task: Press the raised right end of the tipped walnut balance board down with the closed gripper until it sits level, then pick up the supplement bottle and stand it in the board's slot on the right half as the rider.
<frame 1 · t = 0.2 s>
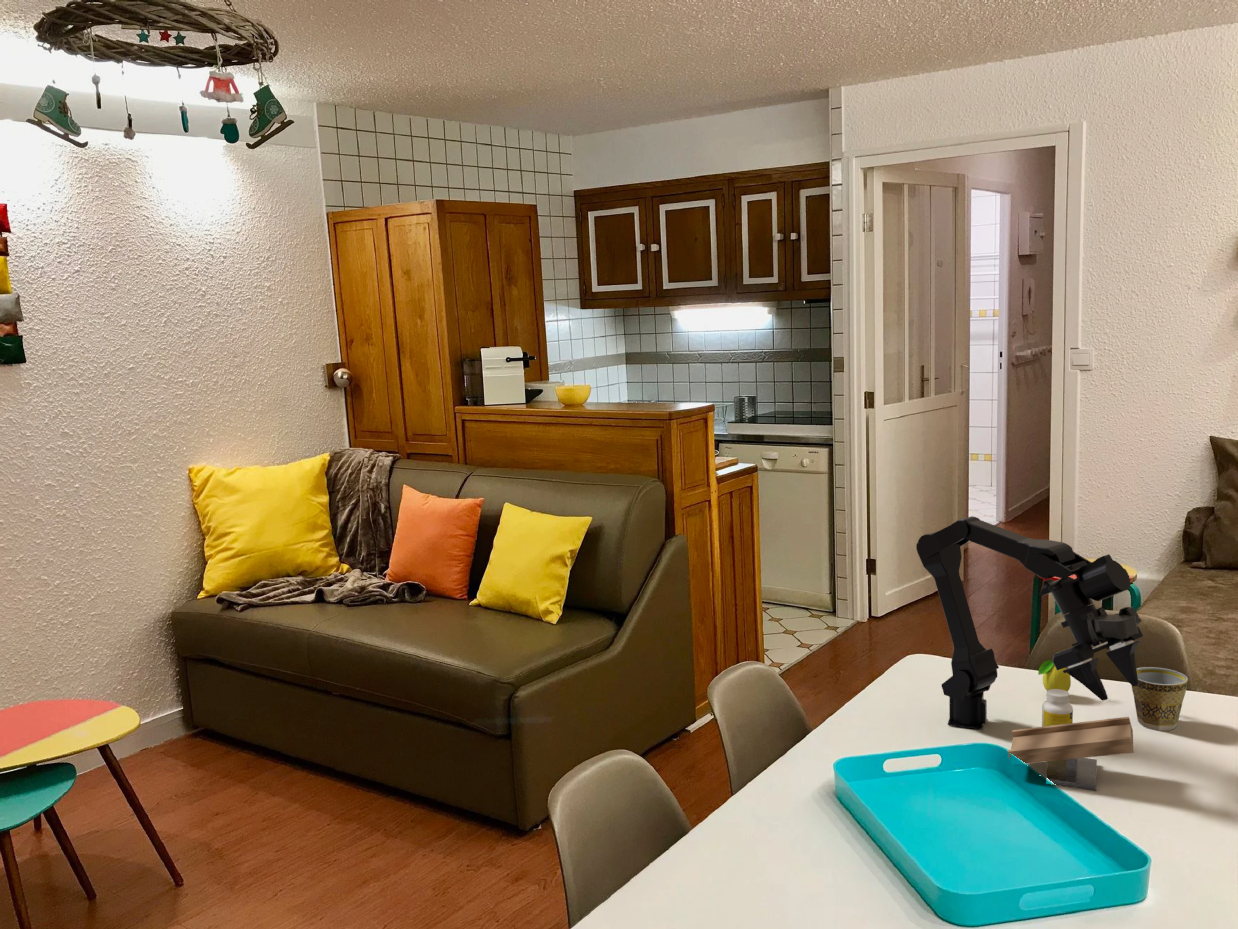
hand: (1120, 692, 180), 15 cm above the table, tool tilted 30°, fingers open, 9 cm apart
lemon: (1056, 697, 218), on the table
ceramic cup: (1153, 722, 203), on the table
board stand: (1071, 774, 182), on the table
supplement bottle: (1056, 742, 196), on the table
balance board: (1070, 740, 182), point 6 cm above the table, hinge at 15.0°
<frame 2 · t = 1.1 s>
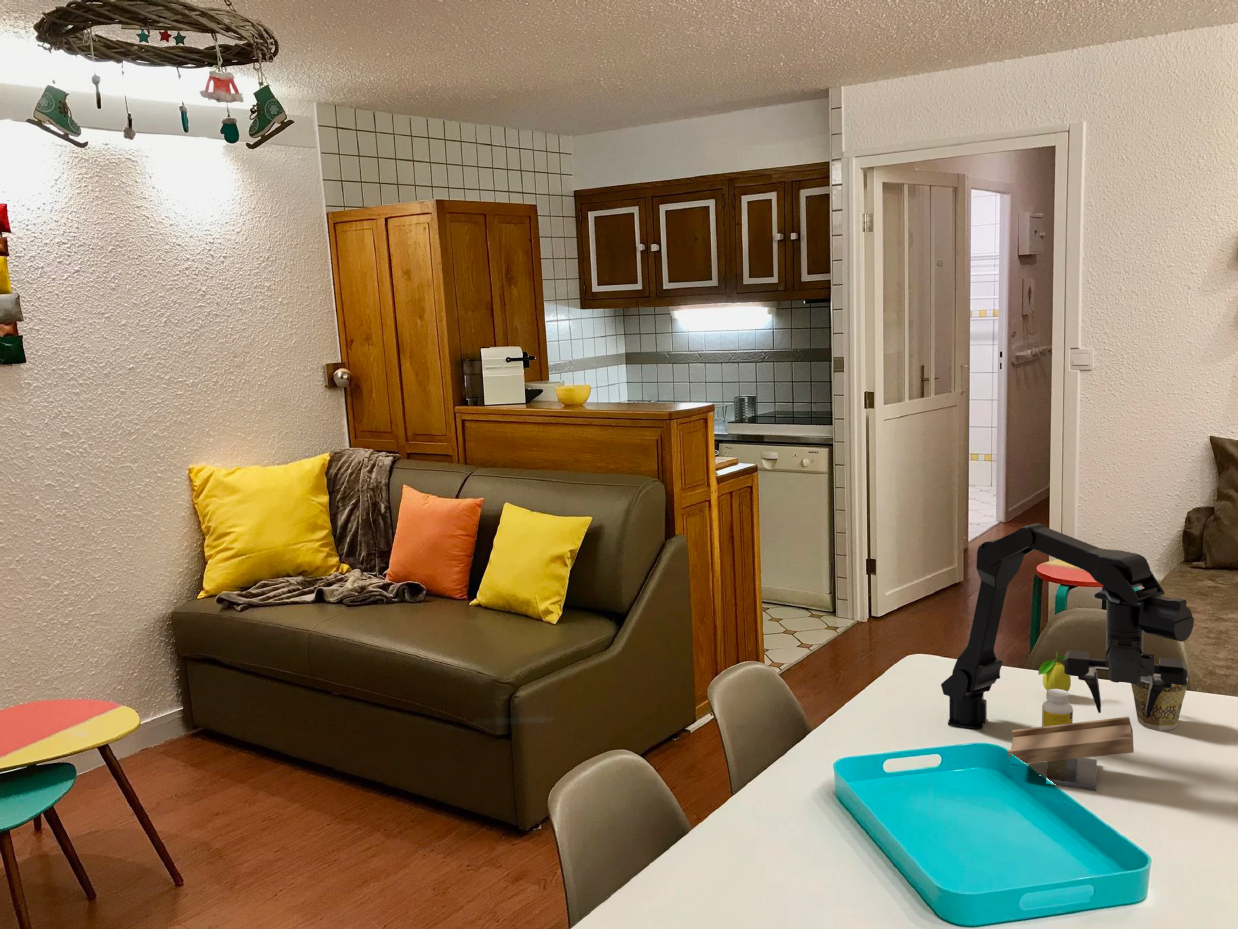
hand: (1123, 714, 177), 12 cm above the table, tool pointing down, fingers open, 7 cm apart
nothing on the table moved.
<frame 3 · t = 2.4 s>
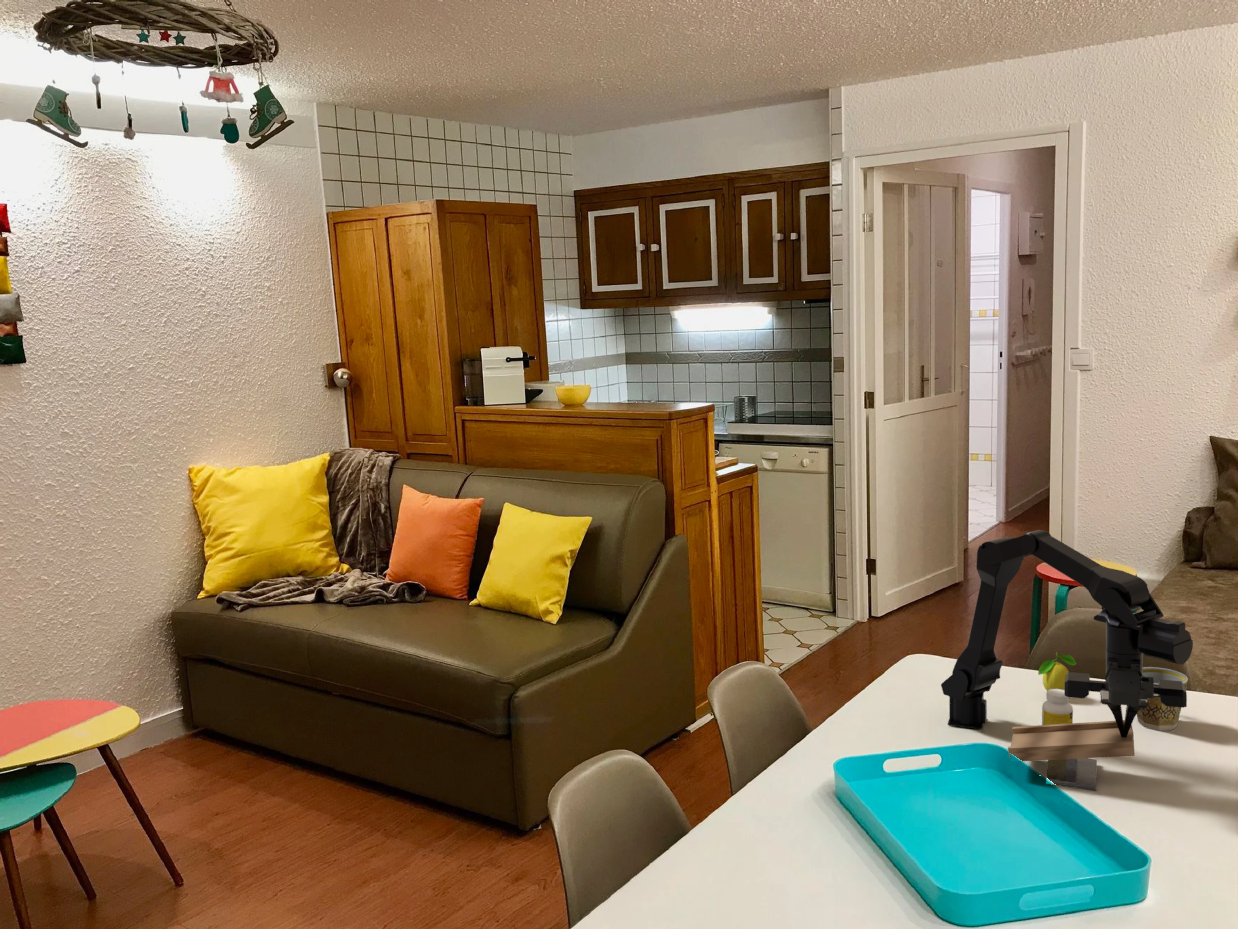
hand: (1123, 736, 178), 8 cm above the table, tool pointing down, fingers closed, pressing on balance board
balance board: (1070, 740, 182), point 6 cm above the table, hinge at 11.5°, touching gripper
everything else where it was.
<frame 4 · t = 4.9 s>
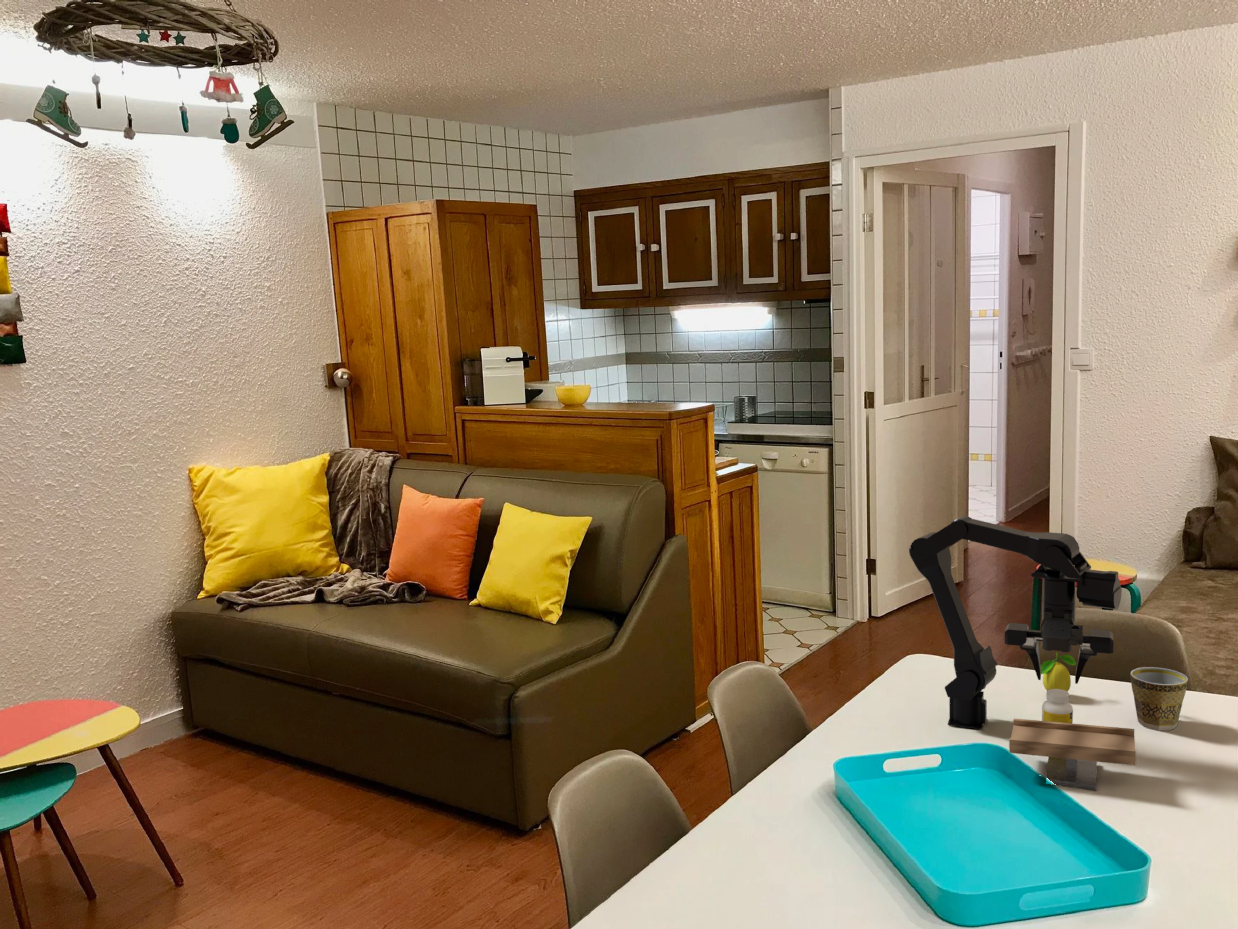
hand: (1057, 681, 194), 12 cm above the table, tool pointing down, fingers open, 6 cm apart
balance board: (1071, 740, 182), point 6 cm above the table, hinge at 1.9°
everything else where it was.
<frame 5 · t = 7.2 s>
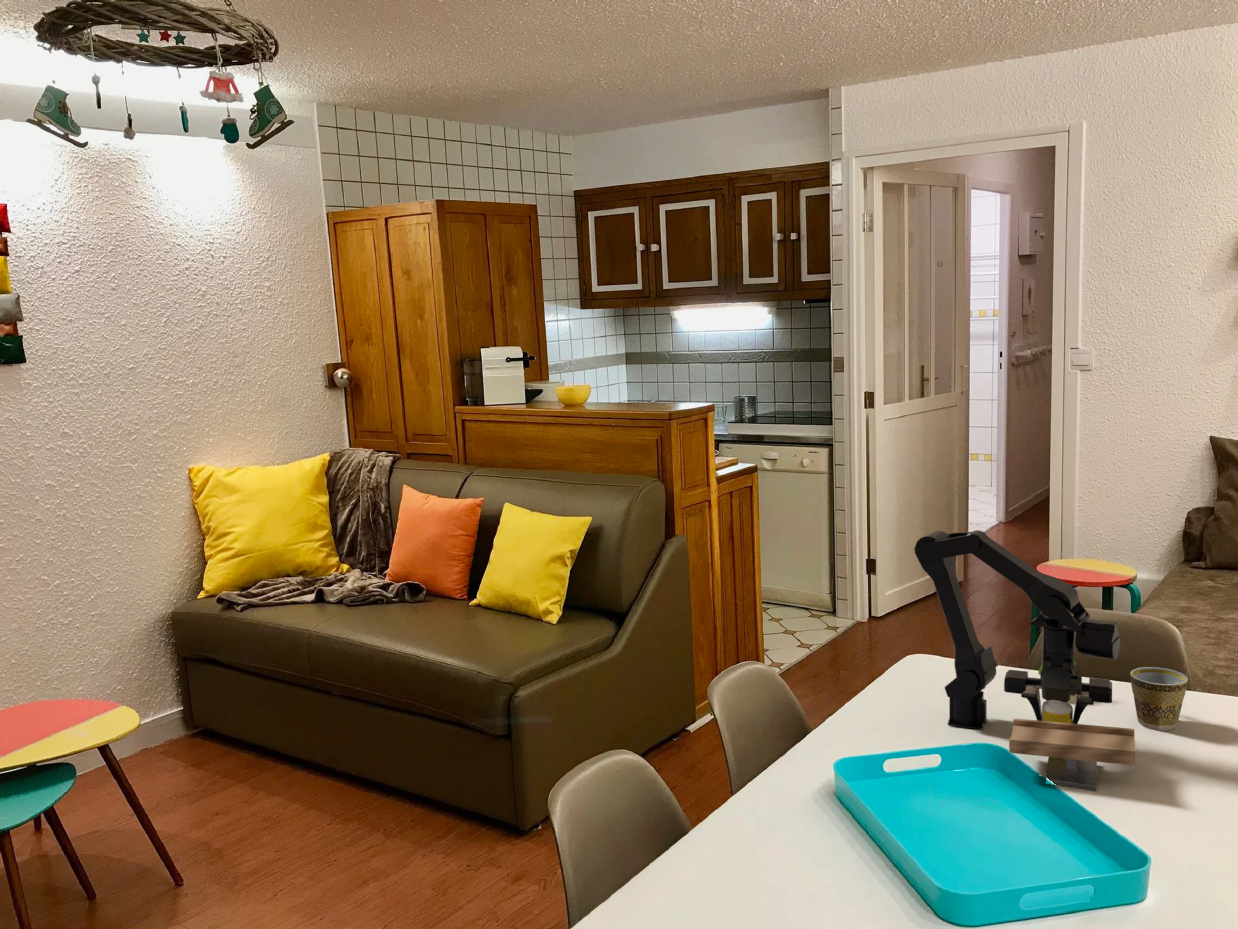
hand: (1056, 728, 196), 3 cm above the table, tool pointing down, fingers closed on supplement bottle, 5 cm apart
supplement bottle: (1056, 742, 196), on the table, touching gripper
everything else where it was.
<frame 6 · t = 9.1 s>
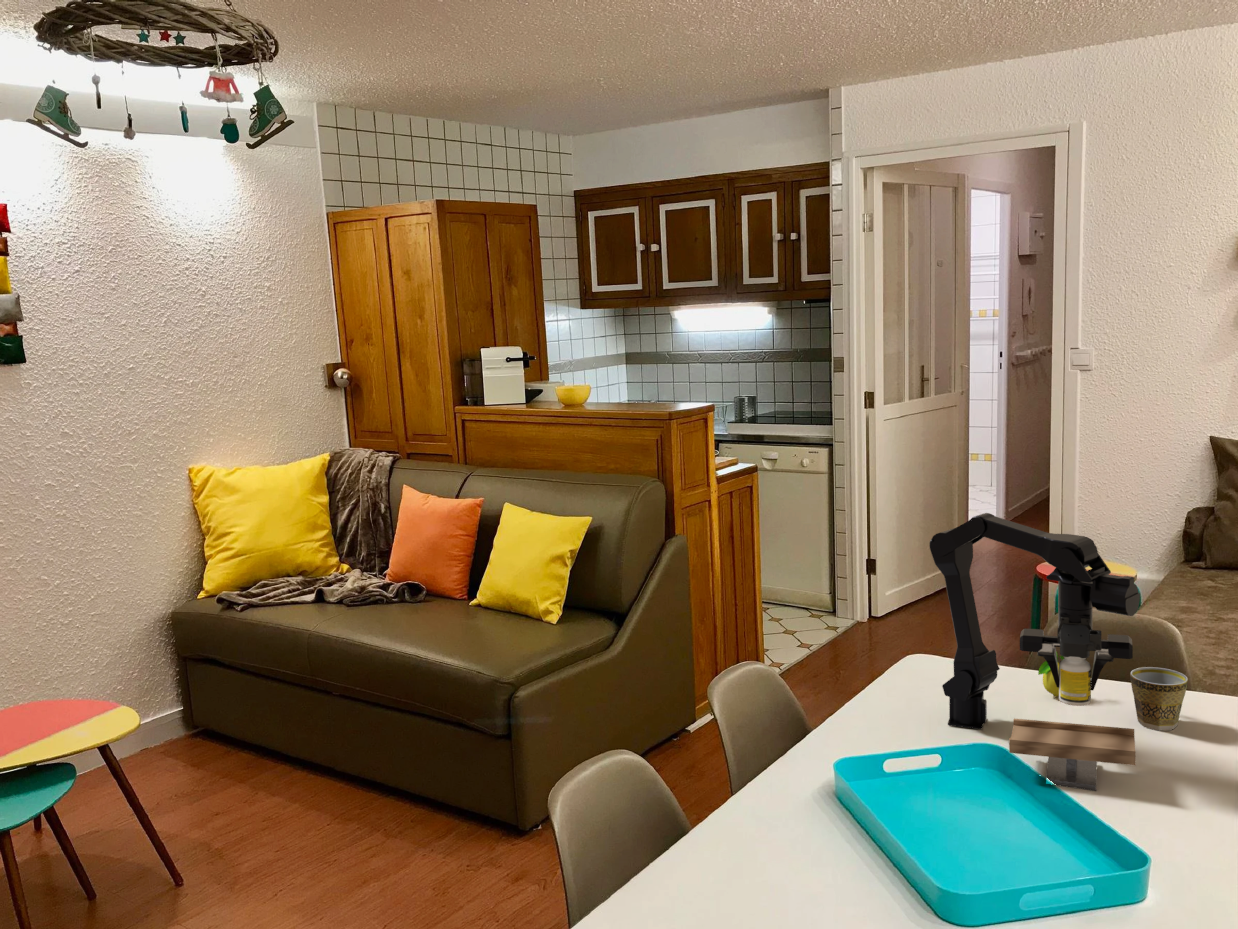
hand: (1074, 688, 189), 13 cm above the table, tool pointing down, fingers closed on supplement bottle, 5 cm apart
supplement bottle: (1074, 702, 189), point 10 cm above the table, touching gripper
everything else where it was.
when the fingers open (10 cm above the table, at t = 11.1 s): supplement bottle drops 1 cm, resting on balance board.
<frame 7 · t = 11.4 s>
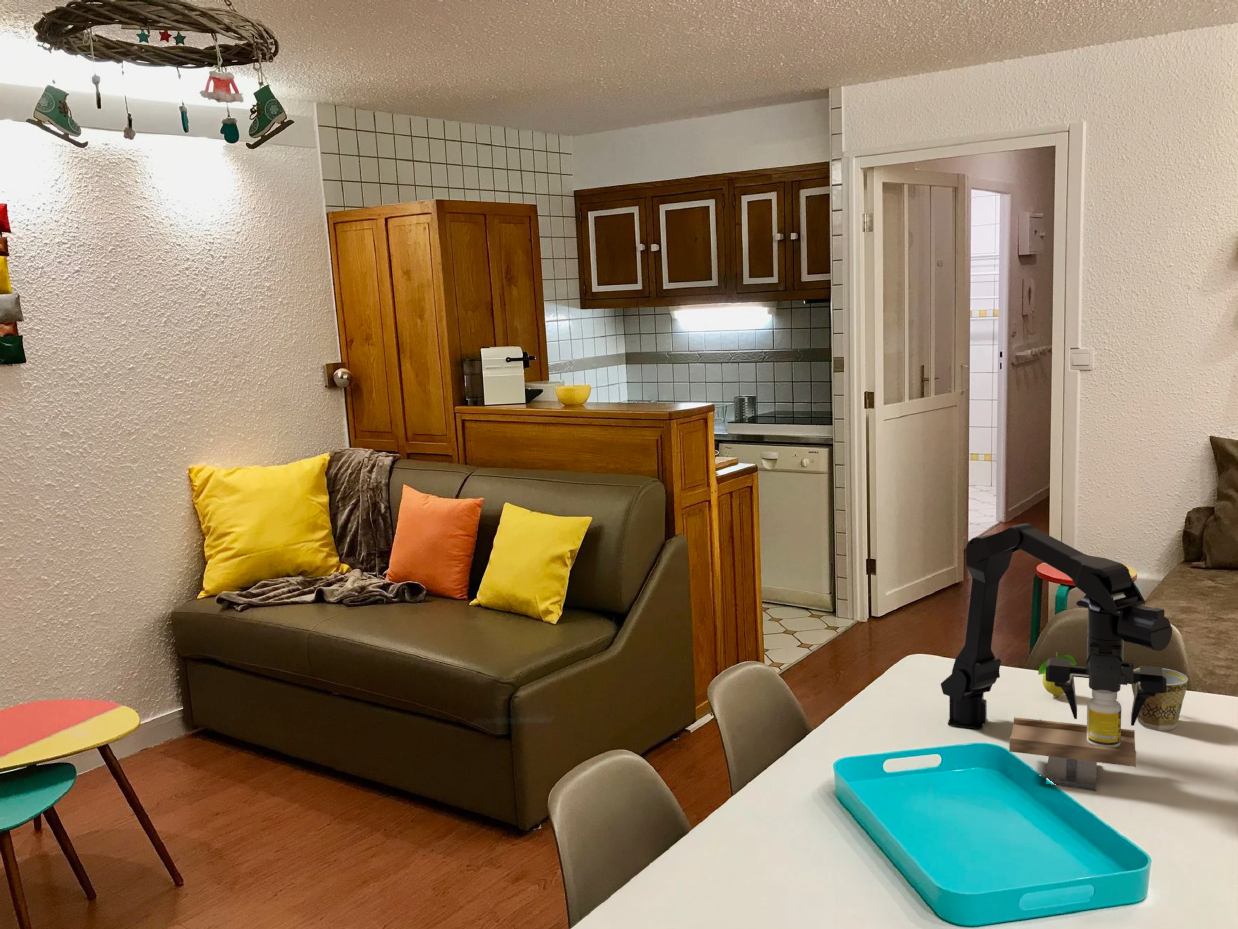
hand: (1103, 721, 179), 10 cm above the table, tool pointing down, fingers open, 9 cm apart
supplement bottle: (1103, 744, 179), point 6 cm above the table, touching balance board
balance board: (1072, 740, 182), point 6 cm above the table, hinge at 0.6°, touching supplement bottle
everything else where it was.
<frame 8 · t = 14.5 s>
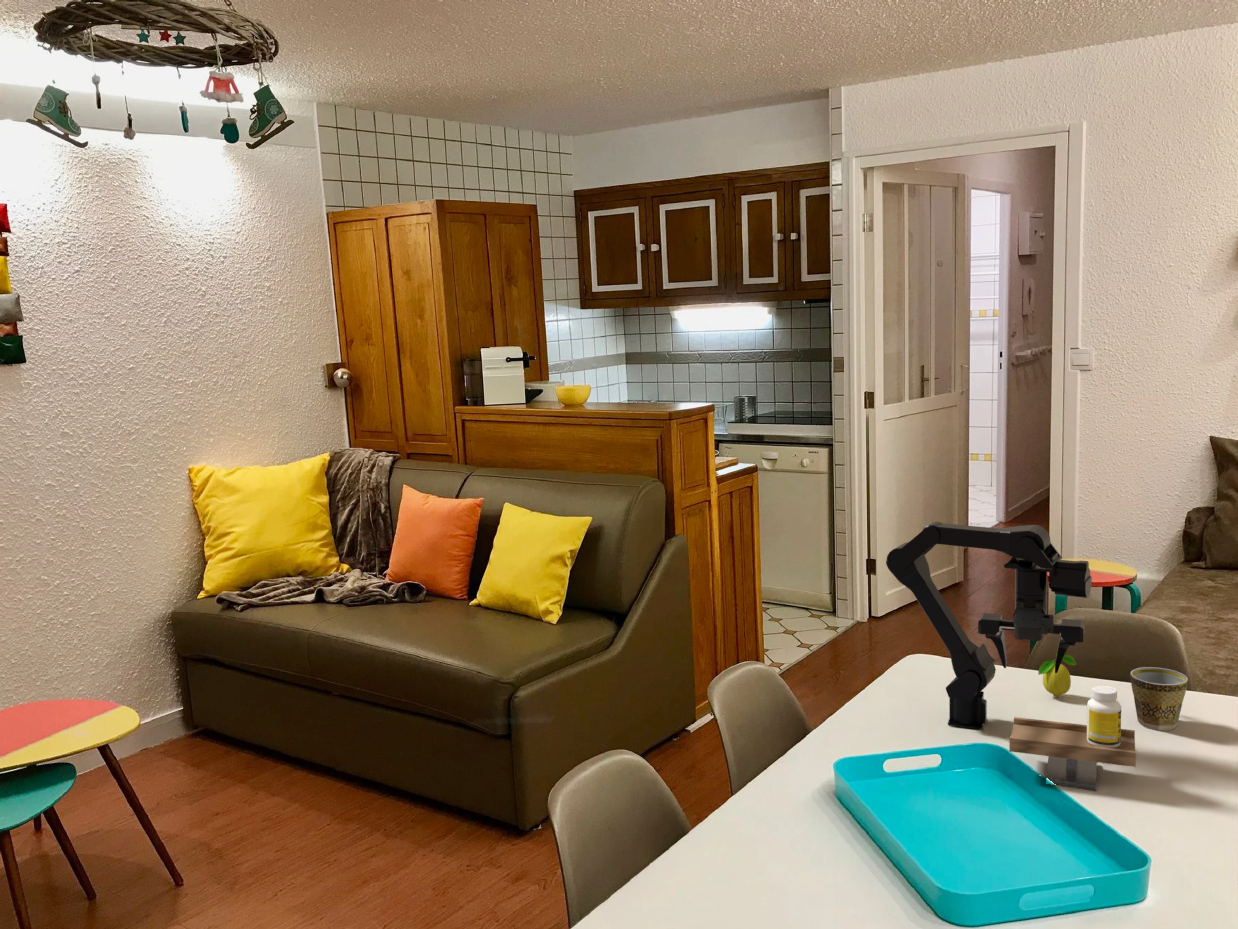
hand: (1030, 670, 198), 13 cm above the table, tool pointing down, fingers open, 9 cm apart
nothing on the table moved.
at the end: balance board at +0° (first picture: +15°); supplement bottle inside the target area on the balance board (0.1 cm from its centre), point 1.3 cm above the balance board's base; supplement bottle tilted 0° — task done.
